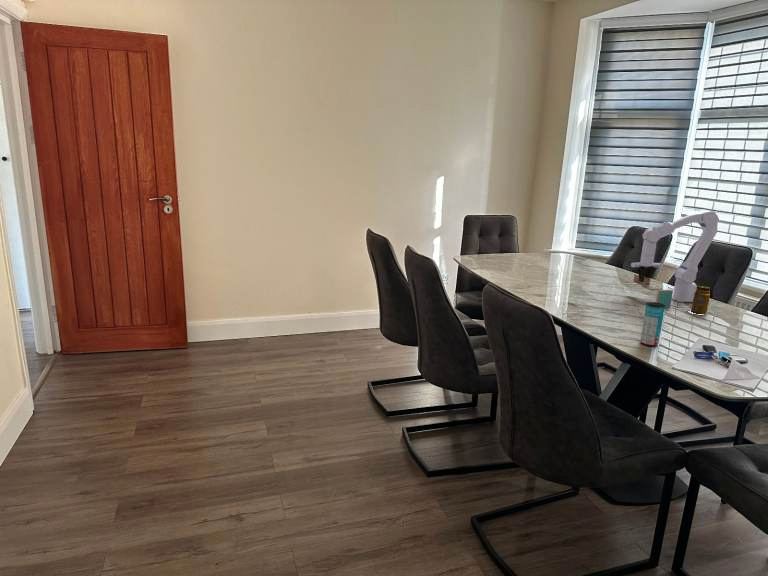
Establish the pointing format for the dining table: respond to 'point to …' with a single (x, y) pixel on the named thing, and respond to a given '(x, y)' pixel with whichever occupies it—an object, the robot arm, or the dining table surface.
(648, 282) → the tall wooden plank
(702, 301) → the condiment
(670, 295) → the tile
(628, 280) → the dining table surface
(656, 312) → the beverage can
